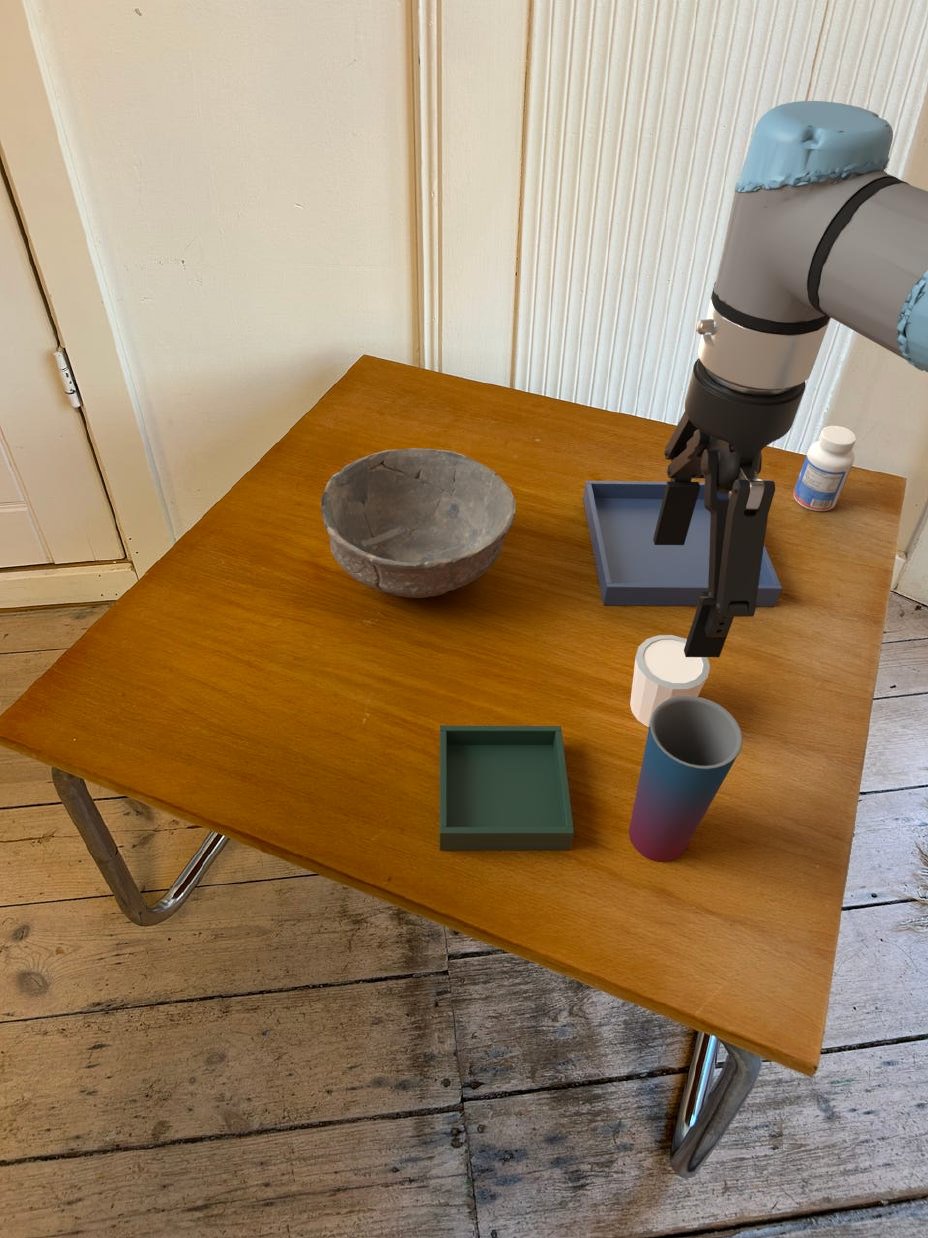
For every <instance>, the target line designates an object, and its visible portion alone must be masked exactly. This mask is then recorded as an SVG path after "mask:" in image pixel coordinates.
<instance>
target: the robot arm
mask: <svg viewBox="0 0 928 1238" xmlns="http://www.w3.org/2000/svg"><path fill="white" fill-rule="evenodd" d="M893 139H894V131H893V127H892V125H891V124H890V123H889V122H888V120H887V119H884V118H881V117H880V116H879V114H877V113H876V112H874V111H872V110H869V109H866V108H863V107H860V106H855V105H852V104H847V103H841V102H834V101H823V100H800V101H792V102H785V103H783V104H779V105H776V106H774V107H773V108H771V109H769V110H768V111H767V112H765V113H764V114H763V115H762V116H761V117H760V118H759V120H758V121H757V123H756V124H755V126H754V129H753V132H752V136H751V139H750V142H749V145H748V148H747V152H746V155H745V158H744V162H743V165H742V167H741V171H740V174H739V178H738V181H736V183H735V184H734V189H733V191H734V196H733V201H732V205H731V210H730V214H729V219H728V225H727V229H726V233H725V237H724V243H723V247H722V252H721V258H720V261H719V266H718V269H717V274H716V278H715V281H714V284H713V287H712V288H713V289H712V292H711V296H710V300H709V305H708V310H707V315H706V318H704V319H699V320H698V321H697V324H696V332H697V333H698V334H699V335H701V337H700V341H699V345H698V346H699V347H698V349H697V351H698V352H697V356H698V358H697V359H696V361H695V362H694V363H693V366H692V367H693V368H692V371H691V376H690V380H689V383H688V387H687V391H686V395H685V400H684V412H683V414H682V416H681V417H680V419H679V421H678V423H677V425H676V427H675V429H674V431H673V432H672V434H671V436H670V438H669V439H668V442H667V444H666V445H665V449H664V451H663V454H664V455H663V456H664V459H665V460H666V461H667V460H668V461H670V463H669V464H668V465H667V468H666V474H667V478H668V479H670V480H668V481H666V482H667V485H666V489H665V493H664V497H663V501H662V505H661V509H660V513H659V517H658V521H657V525H656V529H655V534H654V538H653V541H654V545H684V544H685V540H686V537H687V533H688V529H689V526H690V522H691V519H692V515H693V512H694V508H695V505H696V501H697V497H698V494H699V490H700V484H699V482H700V481H692V479H704V482H705V496H704V506H705V508H706V509H707V510H708V511H709V512H710V514H711V520H710V550H709V580H708V591H702V594H701V597H698V603H699V604H698V606H696V609H695V610H696V611H695V613H694V617H693V620H692V623H691V625H690V629H689V632H688V635H687V638H686V639H687V641H686V645H685V648H684V653H685V657H707V658H720V657H721V653H722V651H723V648H724V646H725V643H726V640H727V637H728V634H729V633H730V629H731V626H732V623H733V621H734V618H735V617H736V618H738V617H739V618H741V617H743V618H744V617H745V618H753V617H754V616H755V613H756V608H757V606H756V601H757V593H758V586H759V578H760V571H761V563H762V556H763V548H764V545H765V541H766V534H767V533H766V532H767V525H768V517H769V512H770V510H771V507H772V503H773V499H774V497H775V493H776V484H775V481H774V479H760V478H761V477H759V474H760V472H761V471H762V463H763V462H762V461H763V460H762V459H763V456H762V455H763V454H762V450H763V449H765V448H766V447H767V446H769V445H770V444H772V443H774V442H776V441H778V440H779V439H782V438H783V437H785V436H786V435H787V434H788V433H789V431H790V430H791V429H792V427H793V425H794V421H795V419H796V416H797V413H798V411H799V408H800V405H801V401H802V399H803V396H804V395H805V394H804V393H805V391H806V385H807V384H806V381H807V380H808V379H810V377H811V374H812V372H813V370H814V366H815V364H816V361H817V358H818V355H819V353H820V351H821V348H822V344H823V342H824V339H825V336H826V333H827V330H828V327H829V325H830V321H831V319H832V320H835V321H836V322H838V323H840V324H842V325H843V326H845V327H847V328H848V329H850V330H852V331H854V332H856V333H857V334H859V335H861V336H863V337H865V338H866V339H868V340H869V341H871V342H873V343H875V344H876V345H879V346H881V347H882V348H884V349H885V350H887V351H889V352H890V353H893V354H894V355H896V356H898V357H900V358H901V359H904V360H905V361H907V362H908V364H909V365H911V366H912V367H914V368H916V369H917V370H918V371H921V372H923V371H924V372H926V373H928V190H927V189H923V188H920V187H917V186H914V185H912V184H910V183H909V182H907V181H904V180H901V179H900V178H898V177H896V176H894V175H892V174H890V173H888V172H886V171H885V170H886V169H887V168H888V164H889V162H890V158H889V156H890V151H891V147H892V145H893ZM717 494H728V497H729V499H730V500H720V499H718V498H717Z"/></svg>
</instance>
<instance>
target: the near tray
mask: <svg viewBox="0 0 928 1238" xmlns="http://www.w3.org/2000/svg"><path fill="white" fill-rule="evenodd" d="M562 730H563V729H562V726H561V725H439V830H438V831H439V834H438V835H439V836H438V837H439V839H438V840H439V847H438V848H439V851H571V848H572V845H573V840H574V836H575V827H574V820H573V811H572V804H571V802H572V801H571V796H570V787H569V779H568V771H567V761H566V754H565V747H564V736H563V731H562Z"/></svg>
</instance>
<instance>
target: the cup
mask: <svg viewBox="0 0 928 1238" xmlns="http://www.w3.org/2000/svg"><path fill="white" fill-rule="evenodd" d="M742 747H743V734H742V729H741V727H740V725H739V723H738V721H737V720H736V718H735V717H734V716H733V714H731V713H730V712H729V711H728V710H727V709H726V708H724V707H723V706H722V705H721V704H718V703H717V702H715V701H713V700H710V699H707V698H704V697H702V696H701V697H700V696H698V697H696V696H677V697H673V698H670V699H668V700H666V701H664V702H662V703H661V704H660V705H659V706H658V707H657V708H656V709H655V711H654V712H653V714H652V717H651V720H650V726H649V727H648V732H647V736H646V741H645V746H644V751H643V756H642V761H641V767H640V770H639V771H640V772H639V777H638V782H637V785H636V786H637V787H636V792H635V797H634V802H633V807H632V812H631V817H630V821H629V822H630V823H629V829H628V836H629V839H630V843H631V844H632V846H633V847H634V849H635V850H636V851H637V852H638V853H639V854H640V855H641V856H643V857H645V858H647V859H649V860H651V861H654V862H660V863H666V862H671V861H674V860H677V859H678V858H680V857H681V856H682V855H683V854H684V852H685V850H686V849H687V847H688V845H689V844H690V842H691V840H692V838H693V837H694V835H695V833H696V831H697V829H698V828H699V826H700V824H701V822H702V820H703V819H704V817H705V815H706V813H707V811H708V810H709V808H710V806H711V805H712V803H713V801H714V799H715V797H716V795H717V793H718V791H719V790H720V788H721V786H722V785H723V783H724V781H725V779H726V777H727V775H728V774H729V772H730V770H731V768H732V766H733V765H734V763H735V761H736V759H737V758H738V756H739V754H740V753H741V750H742Z"/></svg>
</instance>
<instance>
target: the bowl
mask: <svg viewBox="0 0 928 1238" xmlns="http://www.w3.org/2000/svg"><path fill="white" fill-rule="evenodd" d="M516 508H517V503H516V499H515V496H514V494H513V491H512V489H511V487H510V486H509V485H508V483H507V482H505V480H504V479H502V478H501V476H500V475H499V474H497V472H496V471H494V470H493V469H491V468H489V467H488V466H486V465H485V464H483V463H481V462H479V461H477V460H476V459H473V458H470V457H468V456H466V455H464V454H462V453H460V452H457V451H454V450H453V451H451V450H446V449H434V448H419V447H417V448H416V447H413V448H399V449H384V450H381V451H378V452H375V453H371V454H369V455H367V456H364V457H360V458H358V459H356V460H354V461H352V462H350V463H348V464H346V465H345V466H343V468H342V469H341V470H340V471H338V472H336V473H334V474H333V475H332V476H331V477H330V478H329V480H328V482H327V483H326V484H325V488H324V491H323V493H322V495H321V498H320V512H321V516H322V518H323V519H322V520H323V525H324V527H325V529H326V532H327V533H328V537H329V547H330V551H331V553H332V555H333V558H334V559H335V561H336V562H337V564H338V565H339V566H340V567H341V568H342V569H343V570H344V571H345V572H346V573H347V574H348V575H349V576H350V577H352V579H354V580H355V581H357V582H358V583H360V584H362V585H364V586H366V587H368V588H370V589H372V590H376V591H378V592H380V593H383V594H388V595H392V596H397V597H400V598H401V597H402V598H413V599H424V598H429V597H436V596H440V595H444V594H447V592H449V591H451V592H453V591H455V590H457V589H460V588H463V587H464V586H466V585H469V584H470V583H472V582H474V581H476V580H477V579H479V578H480V577H481V576H483V575H485V573H486V572H488V570H490V569H491V567H493V565H494V564H495V563H496V562H497V560H498V559H499V557H500V554H501V552H502V549H503V547H504V540H505V537H506V536H507V535H508V533H509V531H510V530H511V528H512V526H513V523H514V520H515V517H516Z"/></svg>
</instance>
